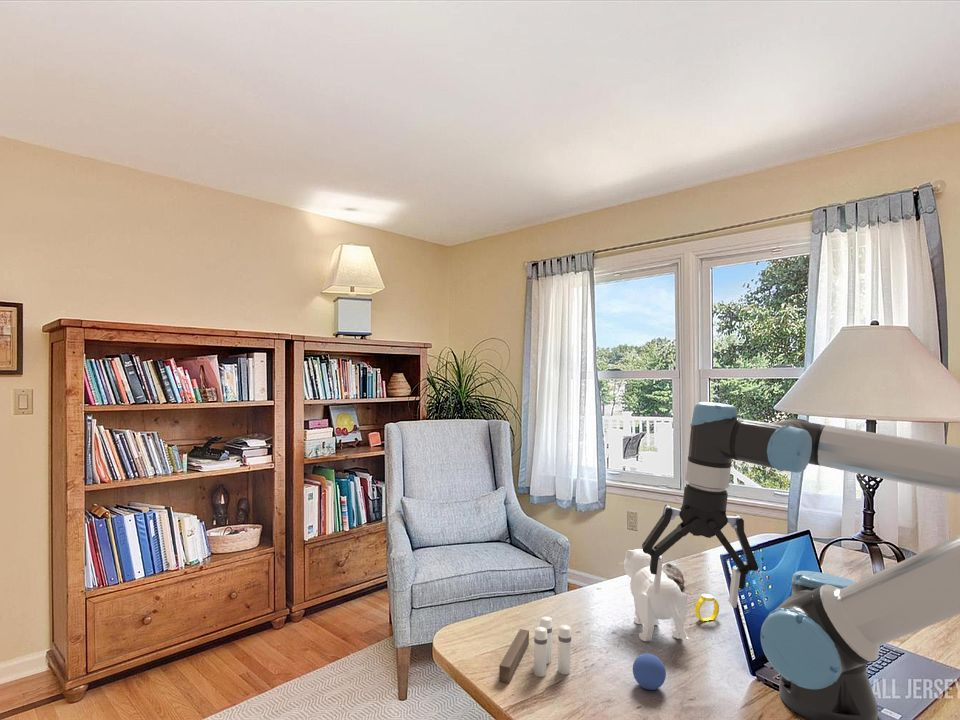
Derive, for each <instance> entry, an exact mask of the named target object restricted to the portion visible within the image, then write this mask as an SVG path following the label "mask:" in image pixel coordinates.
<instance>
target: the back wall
mask: <svg viewBox="0 0 960 720" xmlns="http://www.w3.org/2000/svg"><path fill="white" fill-rule="evenodd" d="M529 645H530V630H528V629H522V628H520V629H519V631H518V632H517V634H516V636H515V637H514V639H513V641H512V643H511V644H510V646H509V648H508V650H507V651H506V653H505V655H504V657H503V659H502V660H501V662H500V664H499V672H498V674H499V676H498V677H499V678H498V680H499V681H498V682H500V683H505V684H510V683H511V681H512V679H513V677H514V675H515V673H516V671H517V670H518V668H519V665H520V663H521V661H522V660H523V657H524V655H525V653H526V651H527V649H528V647H529Z"/></svg>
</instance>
